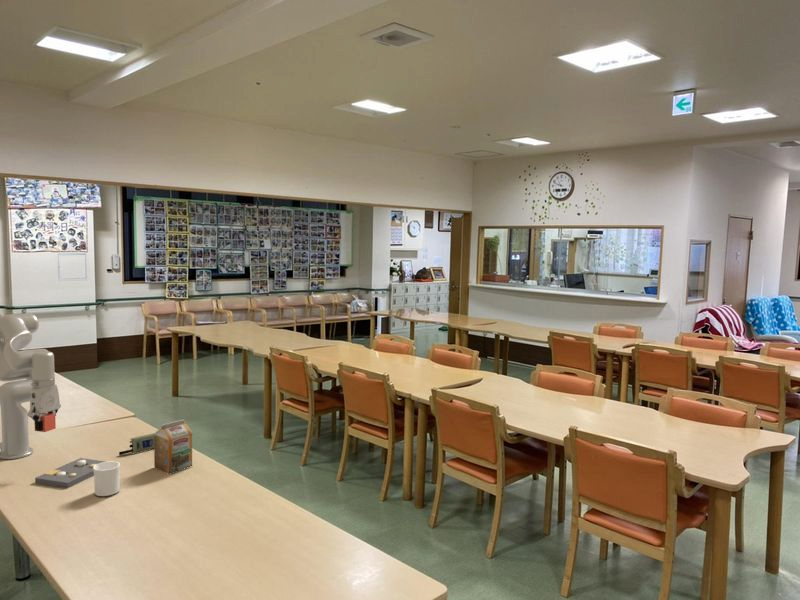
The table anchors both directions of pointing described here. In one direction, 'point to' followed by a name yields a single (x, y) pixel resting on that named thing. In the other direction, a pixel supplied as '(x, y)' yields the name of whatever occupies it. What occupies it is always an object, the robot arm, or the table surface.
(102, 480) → the mug
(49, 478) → the panel
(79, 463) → the white egg
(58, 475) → the cream egg in tray
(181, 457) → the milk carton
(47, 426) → the cap
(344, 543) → the table surface
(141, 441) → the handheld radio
